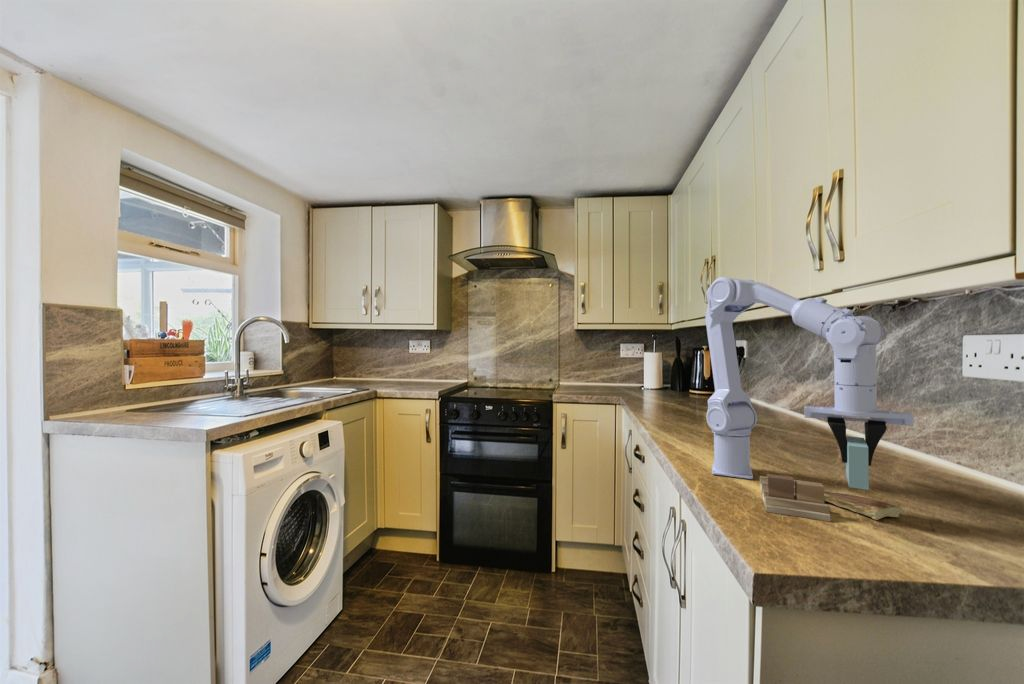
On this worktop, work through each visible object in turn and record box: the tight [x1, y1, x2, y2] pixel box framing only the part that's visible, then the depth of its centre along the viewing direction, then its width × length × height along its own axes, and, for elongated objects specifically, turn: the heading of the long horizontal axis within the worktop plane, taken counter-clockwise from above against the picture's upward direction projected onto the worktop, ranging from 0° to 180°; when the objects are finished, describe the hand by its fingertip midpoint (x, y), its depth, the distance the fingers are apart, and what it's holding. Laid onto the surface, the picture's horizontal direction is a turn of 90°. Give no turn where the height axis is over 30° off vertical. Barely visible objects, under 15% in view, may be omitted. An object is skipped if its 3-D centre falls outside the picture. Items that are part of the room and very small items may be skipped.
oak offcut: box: [794, 479, 825, 504], centre depth 71 cm, size 2×4×4 cm, turn 63°
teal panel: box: [845, 435, 870, 491], centre depth 71 cm, size 2×7×7 cm, turn 144°
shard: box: [824, 491, 903, 521], centre depth 74 cm, size 11×8×2 cm
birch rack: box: [759, 475, 831, 523], centre depth 76 cm, size 15×9×2 cm, turn 153°
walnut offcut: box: [766, 473, 795, 500], centre depth 73 cm, size 2×4×4 cm, turn 63°
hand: (856, 462), depth 72 cm, fingers closed on teal panel, 2 cm apart
